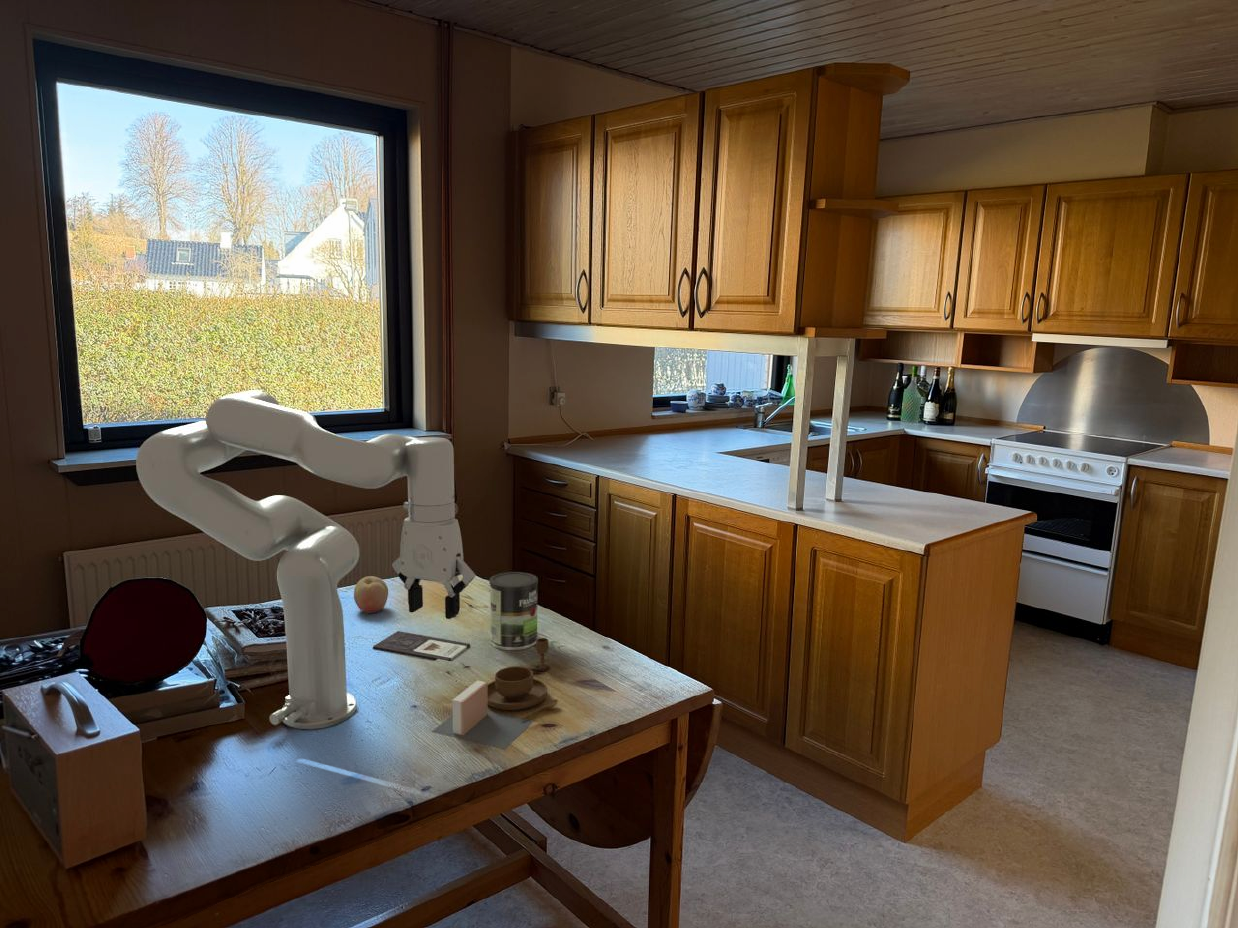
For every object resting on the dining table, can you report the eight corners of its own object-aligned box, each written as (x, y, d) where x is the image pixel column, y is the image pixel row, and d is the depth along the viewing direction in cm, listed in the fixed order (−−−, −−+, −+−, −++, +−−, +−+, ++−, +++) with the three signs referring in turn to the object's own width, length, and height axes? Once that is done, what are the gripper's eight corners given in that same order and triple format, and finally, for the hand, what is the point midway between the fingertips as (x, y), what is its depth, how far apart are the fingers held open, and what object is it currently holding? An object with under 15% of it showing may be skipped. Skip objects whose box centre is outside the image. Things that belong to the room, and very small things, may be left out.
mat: (505, 752, 134) (504, 748, 134) (432, 734, 139) (431, 731, 139) (533, 724, 144) (533, 721, 144) (463, 708, 149) (463, 705, 149)
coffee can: (547, 638, 181) (547, 576, 178) (519, 654, 172) (519, 590, 169) (509, 628, 186) (508, 568, 183) (480, 644, 177) (479, 581, 174)
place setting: (459, 694, 154) (458, 664, 153) (541, 663, 168) (541, 635, 167) (518, 724, 142) (517, 692, 141) (601, 688, 156) (601, 659, 155)
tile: (463, 735, 138) (462, 702, 137) (453, 732, 139) (452, 699, 138) (487, 713, 146) (487, 682, 144) (477, 711, 146) (477, 680, 145)
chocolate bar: (397, 630, 182) (470, 643, 176) (398, 635, 182) (470, 647, 176) (372, 646, 173) (447, 660, 167) (372, 650, 173) (447, 664, 168)
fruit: (349, 616, 191) (347, 583, 189) (360, 604, 199) (359, 572, 197) (383, 617, 191) (382, 584, 189) (393, 605, 198) (392, 573, 197)
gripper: (374, 511, 138) (378, 612, 141) (464, 522, 131) (466, 628, 135) (401, 501, 144) (404, 598, 148) (488, 512, 138) (489, 613, 142)
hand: (433, 612), depth 141 cm, fingers open, 6 cm apart
